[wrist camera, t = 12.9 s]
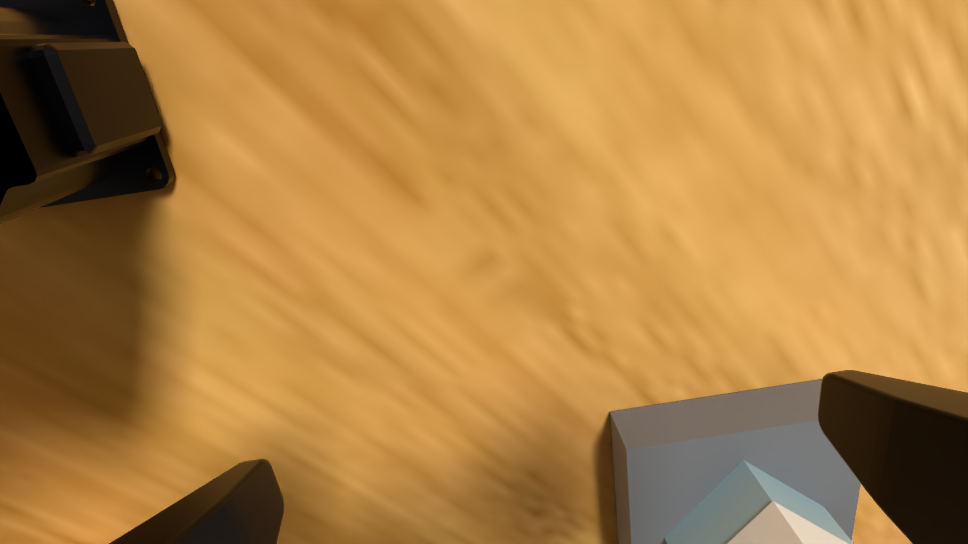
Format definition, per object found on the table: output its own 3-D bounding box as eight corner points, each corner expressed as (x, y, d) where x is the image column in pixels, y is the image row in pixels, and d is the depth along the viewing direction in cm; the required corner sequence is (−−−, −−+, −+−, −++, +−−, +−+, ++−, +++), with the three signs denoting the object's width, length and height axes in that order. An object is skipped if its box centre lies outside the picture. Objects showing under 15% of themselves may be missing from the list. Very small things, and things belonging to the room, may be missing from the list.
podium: (620, 570, 29) (635, 616, 27) (610, 411, 25) (626, 449, 23) (812, 540, 29) (844, 584, 27) (832, 377, 25) (871, 412, 23)
